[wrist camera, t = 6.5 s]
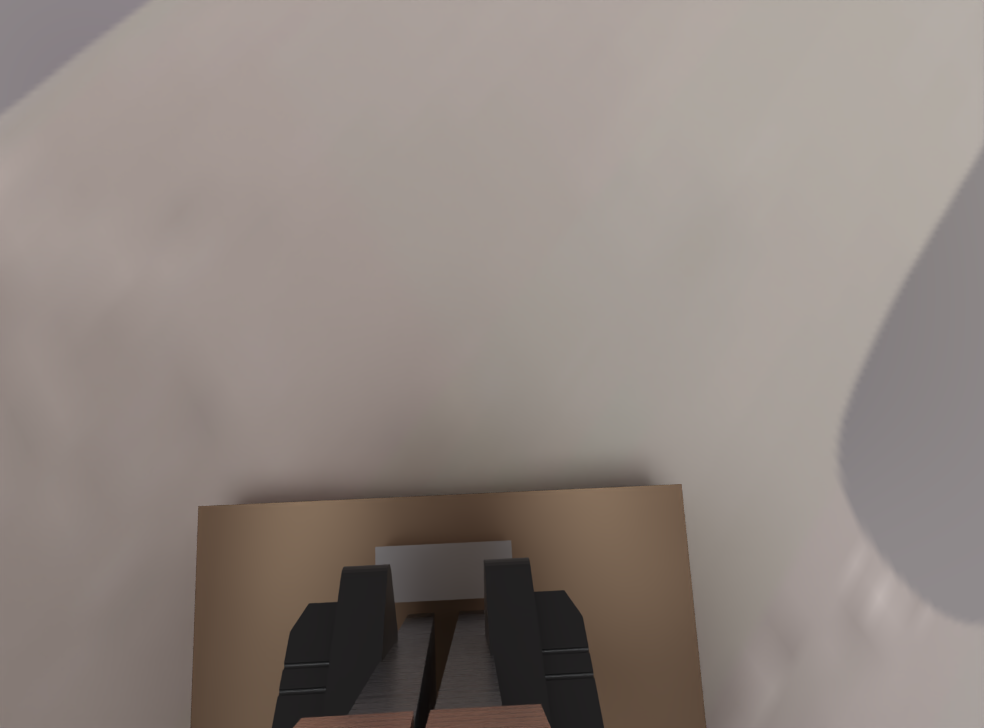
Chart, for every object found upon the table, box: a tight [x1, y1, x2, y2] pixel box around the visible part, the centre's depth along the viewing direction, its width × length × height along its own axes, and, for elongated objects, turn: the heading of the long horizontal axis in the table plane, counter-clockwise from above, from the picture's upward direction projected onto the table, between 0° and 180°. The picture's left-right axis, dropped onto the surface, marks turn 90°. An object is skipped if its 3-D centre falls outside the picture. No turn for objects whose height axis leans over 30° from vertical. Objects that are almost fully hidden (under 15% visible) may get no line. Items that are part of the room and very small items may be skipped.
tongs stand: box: [191, 484, 706, 728], centre depth 19 cm, size 12×8×5 cm, turn 93°
